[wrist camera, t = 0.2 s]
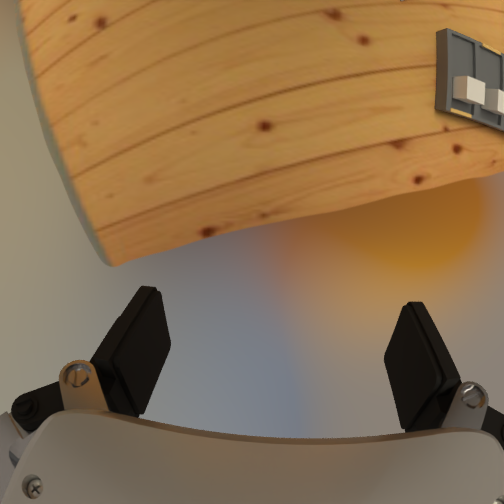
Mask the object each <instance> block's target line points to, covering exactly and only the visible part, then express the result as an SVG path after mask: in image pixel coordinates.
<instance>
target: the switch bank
mask: <svg viewBox="0 0 504 504" xmlns="http://www.w3.org/2000/svg"><path fill="white" fill-rule="evenodd" d="M436 41H437V75H436V98H435V109H437V110H440V111H444V112H447V113H451V114H454V115H457V116H460V117H463V118H466V119H469V120H472V121H475V122H478V123H481V124H484V125H486V126H489V127H492V128H494V129H497V130H499V131H502V132H504V115H499V114H494V113H492V112H490V111H487V110H484V109H482V108H481V105H479V104H470V103H466V102H463V101H460V100H457V99H454V98H452V78H453V77H456V76H469V77H472V78H474V79H477V80H479V81H481V82H484V83H485V88H486V89H499V90H501V91H503V92H504V54H502V53H501V52H500V51H498V50H496V49H494V48H492V47H490V46H488V45H486V44H484V43H481V42H478V41H476V40H474V39H472V38H470V37H467V36H465V35H463V34H460V33H458V32H456V31H453V30H451V29H448V28H446V29H443V30H440V31H438V32H436Z"/></svg>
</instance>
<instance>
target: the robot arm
mask: <svg viewBox="0 0 504 504" xmlns="http://www.w3.org/2000/svg"><path fill="white" fill-rule="evenodd" d="M170 346H171V340H170V336H169V331H168V326H167V321H166V316H165V311H164V306H163V301H162V295H161V292H160V291H157V289H156V287H150V286H141V287H140V288H139V289H138V291H137V292H136V294H135V295H134V297H133V298H132V300H131V301H130V303H129V304H128V306H127V307H126V308H125V310H124V311H123V313H122V314H121V316H119V317H118V318H117V320H116V321H115V323H114V324H113V326H112V327H111V329H110V330H109V332H108V333H107V335H106V336H105V338H104V339H103V341H102V343H101V344H100V346H99V347H98V349H97V351H96V352H95V354H94V355H93V357H92V358H91V360H90V362H88V361H85V360H76V361H72V362H70V363H68V364H67V365H65V366H64V367H63V369H62V370H61V371H60V374H59V381H58V382H55V383H52V384H50V385H47V386H44V387H41V388H39V389H36V390H33V391H31V392H28V393H25V394H22V395H20V396H19V397H18V398H17V399H15V401H14V403H13V405H12V408H11V413H8V412H5V413H3V414H2V415H0V504H504V414H502V413H500V412H498V411H497V410H495V409H493V408H491V407H490V406H488V401H489V398H488V394H487V392H486V390H485V389H484V388H483V387H482V386H481V385H479V384H478V383H475V382H470V381H467V382H464V383H462V382H461V380H460V375H459V373H458V371H457V369H456V366H455V364H454V362H453V360H452V358H451V356H450V354H449V352H448V350H447V348H446V345H445V343H444V342H443V340H442V337H441V336H440V334H439V332H438V330H437V328H436V326H435V324H434V322H433V320H432V318H431V316H430V315H429V313H428V311H427V309H426V307H425V305H424V304H423V303H422V302H408V303H407V305H405V306H403V307H402V310H401V313H400V316H399V318H398V321H397V324H396V327H395V329H394V332H393V335H392V337H391V340H390V342H389V345H388V347H387V350H386V352H385V355H384V363H385V366H386V370H387V373H388V377H389V381H390V385H391V388H392V392H393V396H394V400H395V404H396V408H397V412H398V417H399V421H400V425H401V428H402V429H405V433H399V434H390V435H389V434H388V435H379V436H367V437H352V438H322V439H321V438H309V439H307V438H276V437H275V438H274V437H260V436H259V437H258V436H247V435H237V434H228V433H219V432H212V431H205V430H198V429H192V428H186V427H180V426H175V425H170V424H165V423H160V422H155V421H150V420H145V419H140V418H138V417H139V415H140V414H144V412H145V410H146V407H147V405H148V402H149V400H150V397H151V395H152V392H153V390H154V387H155V385H156V382H157V380H158V377H159V375H160V372H161V370H162V367H163V365H164V363H165V360H166V358H167V356H168V353H169V351H170Z"/></svg>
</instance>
